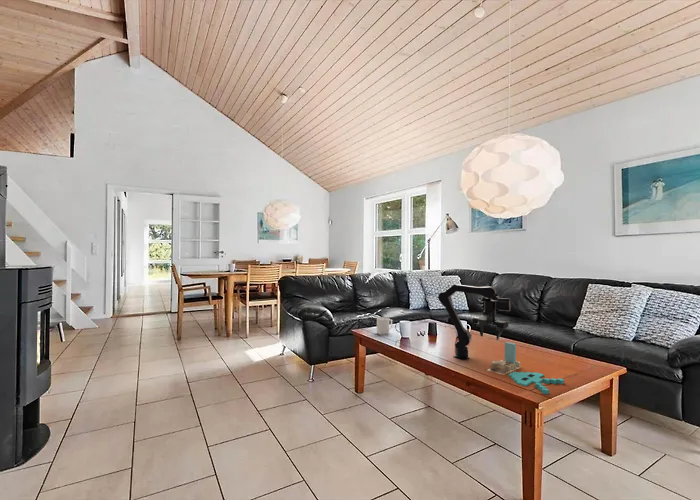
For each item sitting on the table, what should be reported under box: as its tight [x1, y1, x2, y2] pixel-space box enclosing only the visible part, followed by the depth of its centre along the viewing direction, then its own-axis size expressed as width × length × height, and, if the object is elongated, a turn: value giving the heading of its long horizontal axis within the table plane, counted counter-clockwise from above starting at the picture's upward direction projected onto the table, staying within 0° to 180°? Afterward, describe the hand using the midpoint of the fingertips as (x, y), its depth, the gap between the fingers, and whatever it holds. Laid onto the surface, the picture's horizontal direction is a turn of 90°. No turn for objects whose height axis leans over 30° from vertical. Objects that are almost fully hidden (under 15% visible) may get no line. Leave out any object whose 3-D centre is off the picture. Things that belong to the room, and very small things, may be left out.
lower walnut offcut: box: [489, 365, 508, 374], centre depth 185 cm, size 7×4×2 cm, turn 40°
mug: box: [376, 316, 393, 336], centre depth 265 cm, size 12×9×11 cm
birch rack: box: [487, 358, 522, 376], centre depth 189 cm, size 9×18×4 cm, turn 130°
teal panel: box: [504, 341, 517, 364], centre depth 192 cm, size 5×2×12 cm, turn 40°
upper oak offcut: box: [490, 360, 506, 369], centre depth 185 cm, size 6×4×2 cm, turn 46°
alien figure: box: [508, 371, 565, 395], centre depth 173 cm, size 20×2×20 cm
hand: (489, 338), depth 203 cm, fingers open, 9 cm apart
